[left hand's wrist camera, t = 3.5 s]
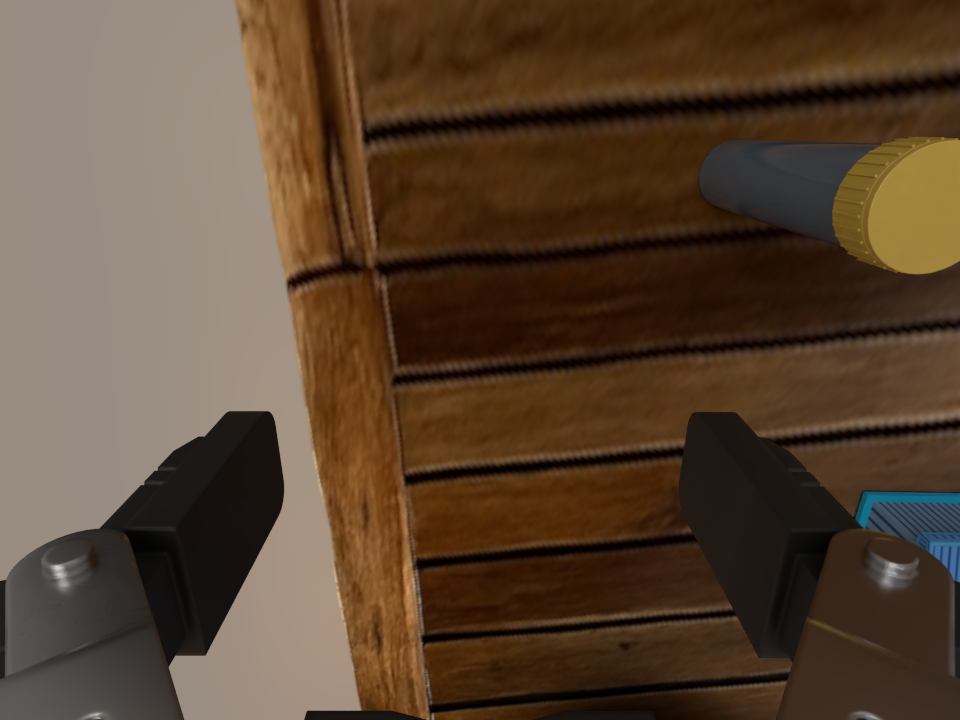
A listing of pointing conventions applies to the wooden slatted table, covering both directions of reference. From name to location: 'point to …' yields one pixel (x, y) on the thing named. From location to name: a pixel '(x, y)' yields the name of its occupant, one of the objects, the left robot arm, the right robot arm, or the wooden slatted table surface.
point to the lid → (902, 206)
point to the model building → (917, 521)
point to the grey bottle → (781, 181)
